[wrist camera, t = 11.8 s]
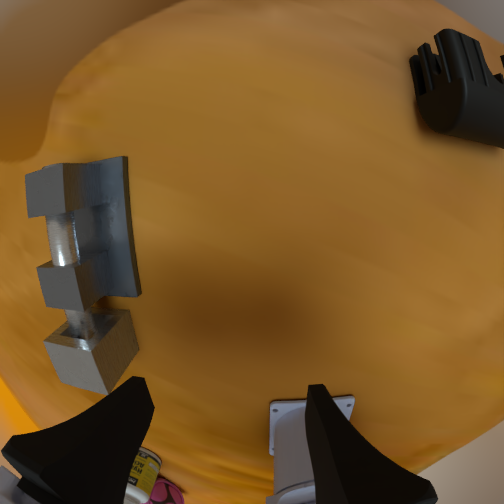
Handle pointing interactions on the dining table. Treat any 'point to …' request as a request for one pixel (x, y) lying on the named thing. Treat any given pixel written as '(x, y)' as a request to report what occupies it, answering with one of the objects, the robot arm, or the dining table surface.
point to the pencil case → (165, 493)
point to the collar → (95, 351)
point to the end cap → (459, 89)
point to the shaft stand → (85, 237)
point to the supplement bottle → (142, 477)
